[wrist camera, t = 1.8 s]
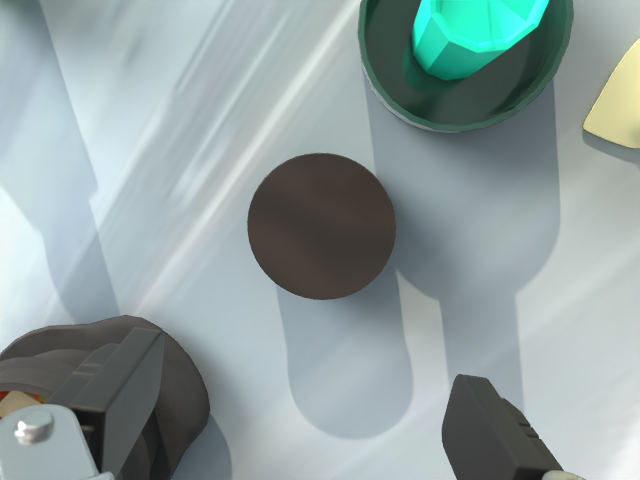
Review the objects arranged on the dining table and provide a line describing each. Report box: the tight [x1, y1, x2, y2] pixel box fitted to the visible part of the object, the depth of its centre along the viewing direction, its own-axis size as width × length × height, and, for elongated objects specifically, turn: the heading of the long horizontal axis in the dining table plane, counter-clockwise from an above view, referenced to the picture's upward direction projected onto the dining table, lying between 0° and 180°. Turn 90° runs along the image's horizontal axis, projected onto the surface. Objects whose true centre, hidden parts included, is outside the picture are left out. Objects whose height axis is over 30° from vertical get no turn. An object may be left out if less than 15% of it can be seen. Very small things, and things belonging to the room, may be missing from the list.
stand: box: [247, 153, 396, 300], centre depth 35 cm, size 11×11×4 cm
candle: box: [411, 0, 549, 81], centre depth 27 cm, size 6×6×12 cm
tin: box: [358, 0, 574, 133], centre depth 31 cm, size 13×13×4 cm
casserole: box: [0, 315, 210, 480], centre depth 39 cm, size 25×19×8 cm
